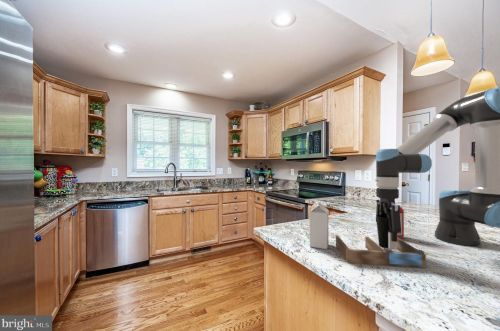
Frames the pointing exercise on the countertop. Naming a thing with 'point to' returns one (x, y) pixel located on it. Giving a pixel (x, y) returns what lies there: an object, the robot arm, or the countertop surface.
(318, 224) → the milk carton
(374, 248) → the comb rack
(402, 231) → the soda can
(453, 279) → the countertop surface
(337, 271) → the countertop surface
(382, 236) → the cup
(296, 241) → the countertop surface
